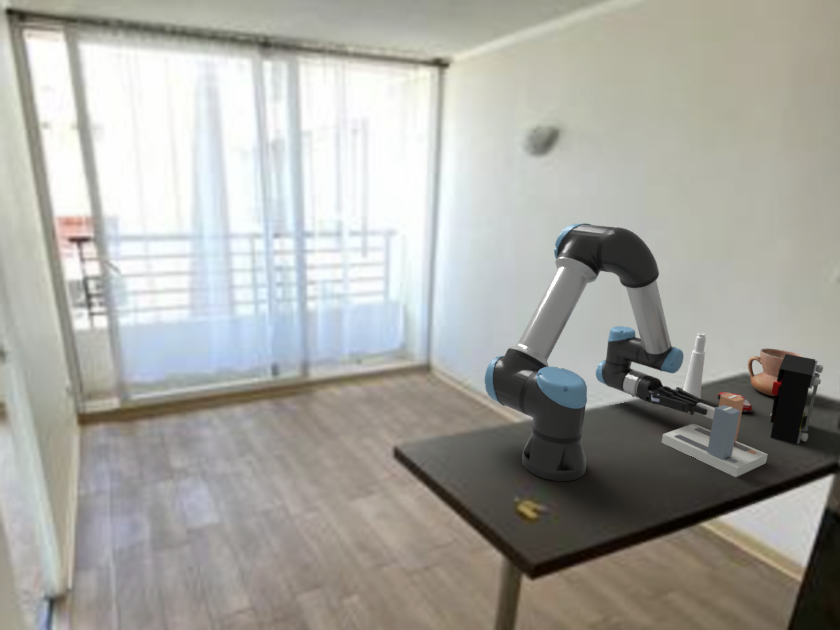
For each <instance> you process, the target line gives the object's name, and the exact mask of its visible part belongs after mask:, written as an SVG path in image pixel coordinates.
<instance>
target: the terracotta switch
mask: <svg viewBox="0 0 840 630" xmlns="http://www.w3.org/2000/svg"><path fill="white" fill-rule="evenodd" d="M728 393H729V394H725V395H722V396H721V397H720V400H719V404H718V407H719V406H722V405H726V406H729V407H732V408H734V409H737V410H740V415H739V420H738V426H737V431H736V436H735V441H734V442H736V441H737V438H738V433H739V429H740V423H741V419H742V418H741V417H742V413H743V412H742V409H743V404H744V398H745V397H744V398H741V397H738V396H736V395H732V394H730V393H731V392H728Z"/></svg>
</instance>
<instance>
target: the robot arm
mask: <svg viewBox="0 0 840 630" xmlns="http://www.w3.org/2000/svg"><path fill="white" fill-rule="evenodd" d="M554 246H555V247H554V249H553V252H554V254H553V255H554V257H555V262H554V263H555V266H556V271H555V273H554V275H553V276H552V278H551V280H550V283H549V284H548V286H547V288H546V290H545V292H544V293H543V296H542V297H541V299H540V301H539V303H538V305H537V307H536V309H535V310H534V313H533V314H532V316H531V318H530V320H529V322H528V324H527V325H526V327H525V329H524V330H523V333H522V335H521V337H520V339H519V340H518V342H517V344H515V345H513V346H510V347H508V348H507V350H506V353H505V354H504V355H498V356H496V357H495V358H493V359H492V360H490V362H489V364H488V366H487V367H486V369H485V374H484V384H485V387H484V388H485V391H486V393H487V395H488V396H489V398H490V399H492V400H493V401H495V402H497V403H499V404H500V405H501V406H504V407H508V408H509V409H512V410H515V411H516V412H519V413H522V414H523V415H525V416H529V417H530V418H532V429H531V432H530V433H531V434H530V435H529V437H528V439H527V441H526V444H525V446H524V448H523V450H522V457H521V463H522V465H523V468H525V469H526V470H527V471H528V472H529V473H531V474H533V475H534V476H536V477H538V478H542V479H546V480H549V481H555V482H570V481H575V480H578V479H580V478H582V477H583V476H584V475H585V473H586V468H587V458H586V454H585V449H584V445H583V440H582V437H583V429H584V420H585V415H586V406H587V403H588V397H587V396H588V393H587V392H588V386H587V384H586V383H587V382H586V381H585V380H584V378H583V377H581V375H580V374H578V373H576V372H574V371H572V370H570V369H567V368H563V367H562V368H561V367H560V368H559V367H558V366H549V363H548V360H549V358H550V356H551V354H552V352H553V350H554V349H555V346H556V345H557V343H558V340H559V339H560V336H561V335H562V333H563V330H564V329H565V327H566V325H567V323H568V321H569V320H570V317H571V315H572V314H573V311H574V309H575V308H576V306H577V304H578V302H579V300H580V298H581V296H582V294H583V293H584V291H585V289H586V287H587V285H588V284H590V283H593V282H596V280H597V279H598V276H599V274H600V273H601V272H606V273H612V274H615V276H617V277H618V279H619V282H620V284H621V286H623V287H624V288H626V291H627V295H628V299H629V303H630V305H631V309H632V312H633V313H632V314H633V316H634V320H635V324H636V328H637V331H638V334H639V337H637V335H636V330H635V329H634V328H632V327H629V326H624V325H621V326H620V325H618V326H617V325H615V326H612V327H611V328H610V330H609V333H608V339H607V348H606V357H605V360H602V361H600V362H599V363H598V365H597V368H596V369H595V377H596V380H597V381H598V382H599V383H602V384H604V385H605V386H607V387H609V388H612V389H615V390H618V391H621V392H622V393H626V394H628V395H630V396H631V397H632V398H638V399H640V400H641V401H644V402H647V403H650V404H654V405H659V406H662V407H665V408H669V409H672V410H676V411H679V412H683V413H685V414H686V413H687V414H688V413H689V412H690V413H689V415H691V416H694V413H695V414H698V415H700V416H703V417H706V418H708V419H711V420H713V417H714V412H715V408H716V407H714V406H711V405H708V404H705V403H703V399H702V398H701V399H700V398H698V397H696V396H694V395H692V394H690V393H688V392H686V391H683V388H681V387H680V386H676V387H675V389H672V388H671V387H670V386H667V385H663V383H662V381H661V379H659V378H658V377H656V376H652V375H648V374H647V373H644V372H641V371H639V370H635V369H633V368H631V365H632V363H634V364H637V365H641V366H645V367H647V368H651V369H654V370H656V371H660V372H665V373H668V374H675V373H677V372H679V370H680V369H681V367H682V365H683V361H684V352H683V350H682V349H681V348H678V347H676V346H672V343H671V339H670V333H669V330H668V326H667V321H666V315H665V311H664V308H663V304H662V298H661V296H660V295H661V294H660V289H659V286H658V282H657V280H658V278H659V277H660V272H659V267H658V263H657V260H656V258H655V256H654V253H652V251H651V249H650V248H649V246H648V245H647V244H646V243H645V241H644V240H643V239H642V238H641V237H640V236H639V235H637V234H636V233H634V231H631V230H630V229H628V228H623V227H618V226H617V227H613V226H605V225H595V224H594V225H593V224H590V223H585V222H584V223H573V224H569V225H567V226H565V227H564V228H563V229H562V230H561V231H560V233H559V234H558V236H557V238H556V240H555V243H554Z"/></svg>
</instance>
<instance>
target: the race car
mask: <svg viewBox="0 0 840 630" xmlns="http://www.w3.org/2000/svg"><path fill="white" fill-rule="evenodd" d="M729 393H730V394H732V395H736V396H738V397H741V398H744V404H743V409H742V413H752V410H753V409H752V407H753V405H752V403H750V402H749V400H748V399H746V398H745V397H744V396H743V395H742V394H739V393H732V392H726V391H722V392H719V393H718V395H717V399H718V400H719V401H720V397H721V396H722V395H725V394H729Z"/></svg>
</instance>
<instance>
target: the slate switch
mask: <svg viewBox="0 0 840 630" xmlns="http://www.w3.org/2000/svg"><path fill="white" fill-rule="evenodd" d="M714 408H715V412H714V417H713V419H712V423H711V429H710V430H711V434H710V439H709V445H708V450H707V453H710V454H712V455H714V456H716V457H719V458H721V459H725V458H727V457H729V456H732V451H733V446H734V441H735V436H736V431H737V426H738V420H739V415H740V410H737V409H734V408H732V407H729V406H726V405H722V406H719V405H718V406H716V407H714Z"/></svg>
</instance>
